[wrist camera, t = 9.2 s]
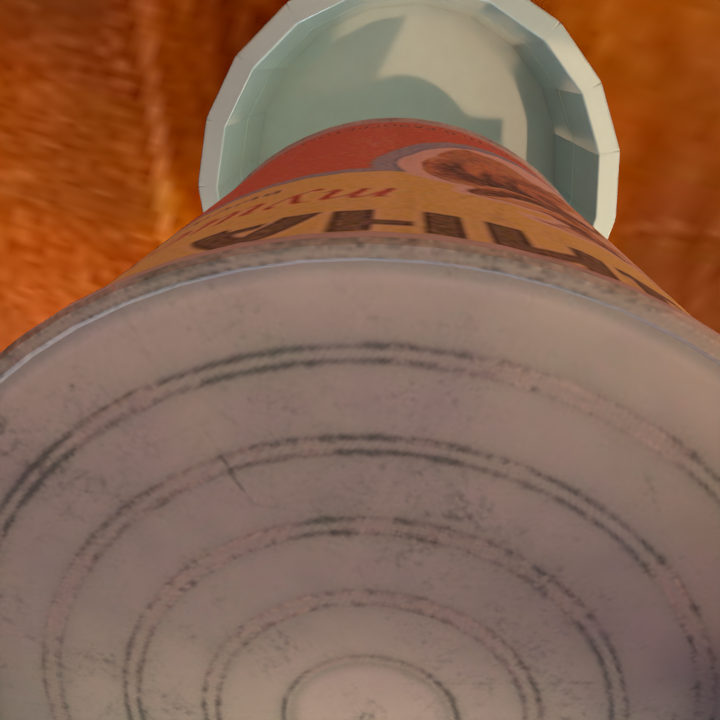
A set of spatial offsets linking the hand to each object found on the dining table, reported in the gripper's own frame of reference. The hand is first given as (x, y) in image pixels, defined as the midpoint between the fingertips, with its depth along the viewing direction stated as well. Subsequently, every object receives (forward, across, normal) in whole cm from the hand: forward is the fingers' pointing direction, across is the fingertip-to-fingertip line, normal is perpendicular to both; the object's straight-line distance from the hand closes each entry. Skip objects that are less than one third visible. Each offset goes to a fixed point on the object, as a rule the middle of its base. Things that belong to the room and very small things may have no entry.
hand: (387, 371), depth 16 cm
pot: (+21, 0, +2) cm, 22 cm away
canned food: (+3, 0, 0) cm, 3 cm away
